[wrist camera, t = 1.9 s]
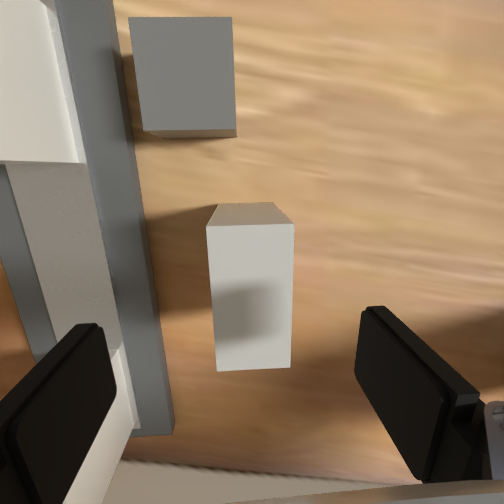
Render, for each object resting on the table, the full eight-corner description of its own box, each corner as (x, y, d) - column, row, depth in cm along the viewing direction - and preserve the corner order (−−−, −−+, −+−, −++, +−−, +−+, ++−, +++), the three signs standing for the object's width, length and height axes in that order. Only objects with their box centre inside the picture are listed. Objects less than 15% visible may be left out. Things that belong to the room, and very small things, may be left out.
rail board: (109, -21, 15) (98, -37, 14) (175, 422, 25) (172, 434, 24) (-72, -22, 15) (-98, -38, 14) (69, 429, 25) (61, 441, 24)
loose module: (272, 202, 20) (294, 223, 12) (272, 298, 22) (290, 367, 14) (216, 203, 19) (202, 226, 12) (222, 300, 22) (214, 371, 14)
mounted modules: (45, 5, 14) (-183, -186, 6) (134, 424, 23) (83, 549, 16) (-32, 5, 14) (-359, -191, 6) (88, 427, 23) (13, 554, 15)
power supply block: (233, 51, 17) (231, 16, 13) (236, 137, 18) (236, 128, 14) (153, 52, 16) (127, 17, 13) (163, 138, 18) (143, 130, 14)
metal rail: (57, -2, 14) (52, -6, 14) (142, 424, 24) (140, 428, 23) (-38, -2, 14) (-46, -7, 14) (86, 427, 24) (83, 431, 23)
